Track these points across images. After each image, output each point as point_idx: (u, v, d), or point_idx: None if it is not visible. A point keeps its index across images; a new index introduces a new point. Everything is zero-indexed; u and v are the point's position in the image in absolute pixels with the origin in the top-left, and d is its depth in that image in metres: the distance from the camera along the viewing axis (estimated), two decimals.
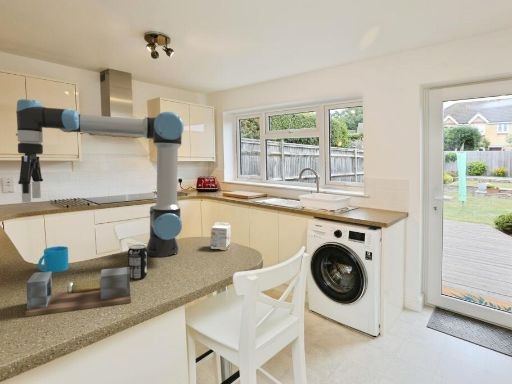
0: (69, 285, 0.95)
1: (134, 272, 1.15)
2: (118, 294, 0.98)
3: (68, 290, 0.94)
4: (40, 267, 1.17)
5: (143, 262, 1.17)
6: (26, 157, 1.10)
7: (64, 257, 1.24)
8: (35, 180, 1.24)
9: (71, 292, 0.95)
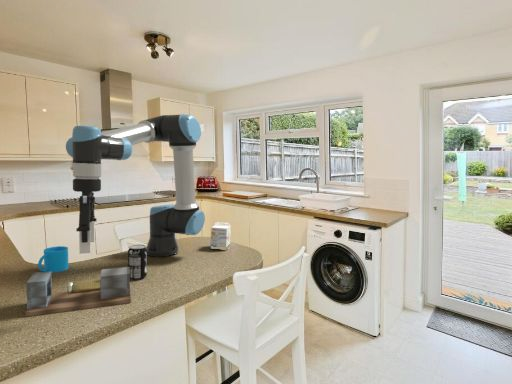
0: (69, 285, 0.95)
1: (134, 272, 1.15)
2: (118, 294, 0.98)
3: (68, 290, 0.94)
4: (40, 267, 1.17)
5: (143, 262, 1.17)
6: (85, 197, 0.89)
7: (64, 257, 1.24)
8: None
9: (71, 292, 0.95)
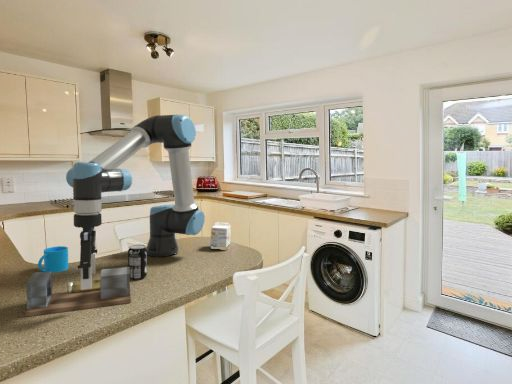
0: (69, 285, 0.95)
1: (134, 272, 1.15)
2: (118, 294, 0.98)
3: (68, 290, 0.94)
4: (40, 267, 1.17)
5: (143, 262, 1.17)
6: (86, 235, 0.90)
7: (64, 257, 1.24)
8: None
9: (71, 292, 0.95)
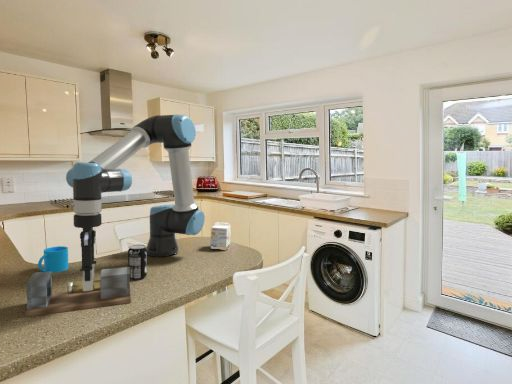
0: (69, 285, 0.95)
1: (134, 272, 1.15)
2: (118, 294, 0.98)
3: (68, 290, 0.94)
4: (40, 267, 1.17)
5: (143, 262, 1.17)
6: (86, 241, 0.91)
7: (64, 257, 1.24)
8: None
9: (71, 292, 0.95)
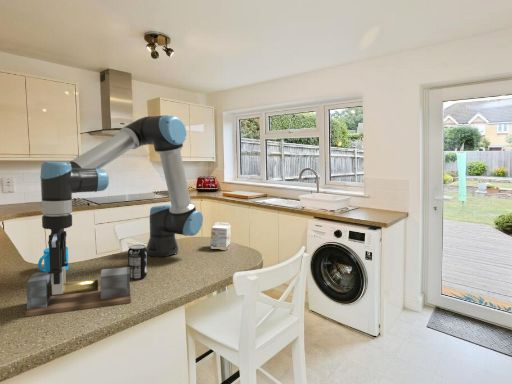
0: None
1: (134, 272, 1.15)
2: (118, 294, 0.98)
3: None
4: (40, 267, 1.17)
5: (143, 262, 1.17)
6: (54, 243, 0.88)
7: None
8: None
9: None
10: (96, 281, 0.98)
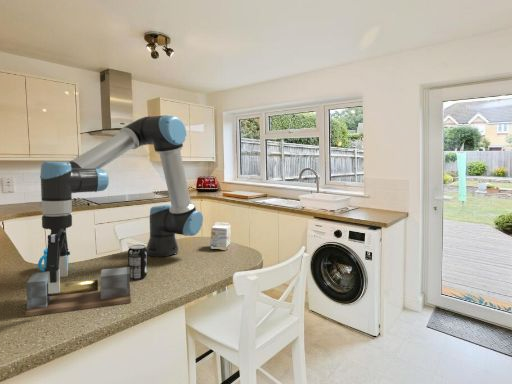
0: None
1: (134, 272, 1.15)
2: (118, 294, 0.98)
3: None
4: (40, 267, 1.17)
5: (143, 262, 1.17)
6: (54, 236, 0.87)
7: None
8: (61, 254, 1.00)
9: None
10: (96, 281, 0.98)
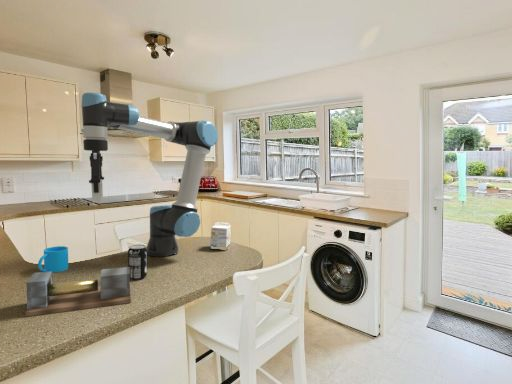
0: None
1: (134, 272, 1.15)
2: (118, 294, 0.98)
3: None
4: (40, 267, 1.17)
5: (143, 262, 1.17)
6: (95, 154, 1.04)
7: (64, 257, 1.24)
8: None
9: None
10: (96, 281, 0.98)
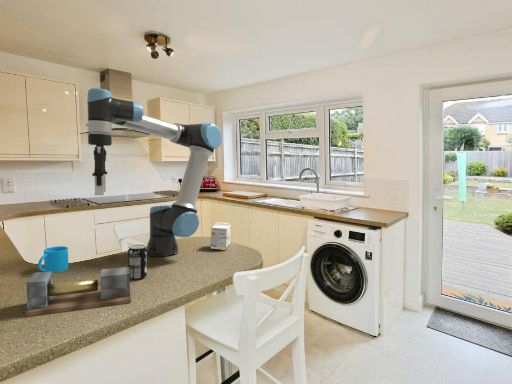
0: None
1: (134, 272, 1.15)
2: (118, 294, 0.98)
3: None
4: (40, 267, 1.17)
5: (143, 262, 1.17)
6: (99, 148, 1.06)
7: (64, 257, 1.24)
8: None
9: None
10: (96, 281, 0.98)
